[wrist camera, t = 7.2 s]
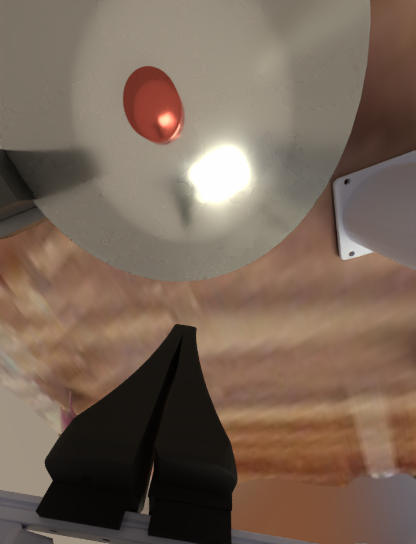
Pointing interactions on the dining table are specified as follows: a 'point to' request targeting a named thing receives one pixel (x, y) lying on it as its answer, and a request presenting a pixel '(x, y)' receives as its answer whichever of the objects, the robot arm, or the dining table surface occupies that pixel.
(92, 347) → the dining table surface
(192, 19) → the cooker lid
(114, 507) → the robot arm
